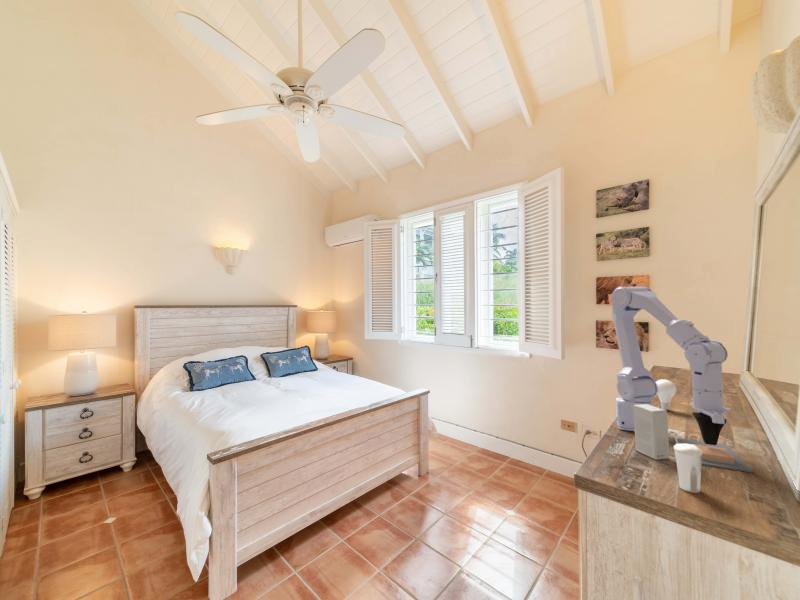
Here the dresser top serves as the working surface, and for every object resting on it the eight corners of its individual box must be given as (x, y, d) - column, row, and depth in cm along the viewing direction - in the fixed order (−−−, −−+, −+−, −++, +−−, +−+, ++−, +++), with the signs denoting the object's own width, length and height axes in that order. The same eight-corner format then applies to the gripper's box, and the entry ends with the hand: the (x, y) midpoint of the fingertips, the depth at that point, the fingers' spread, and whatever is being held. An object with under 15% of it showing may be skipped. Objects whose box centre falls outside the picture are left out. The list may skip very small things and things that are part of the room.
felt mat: (690, 463, 80) (690, 461, 80) (674, 439, 94) (674, 437, 94) (753, 472, 75) (753, 471, 75) (726, 446, 89) (726, 444, 89)
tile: (693, 450, 86) (701, 459, 81) (693, 444, 86) (700, 453, 81) (725, 454, 83) (734, 464, 78) (724, 448, 83) (734, 457, 78)
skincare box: (670, 458, 82) (668, 410, 83) (655, 460, 82) (653, 411, 82) (648, 448, 88) (646, 403, 89) (634, 450, 88) (632, 404, 88)
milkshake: (686, 480, 72) (684, 434, 72) (710, 494, 67) (708, 444, 67) (666, 481, 72) (664, 435, 72) (688, 495, 67) (686, 445, 67)
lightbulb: (650, 408, 121) (648, 378, 122) (662, 406, 123) (661, 377, 124) (668, 413, 115) (667, 382, 116) (681, 411, 117) (680, 380, 118)
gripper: (741, 398, 76) (744, 458, 75) (718, 384, 88) (720, 436, 88) (700, 395, 79) (703, 452, 79) (684, 382, 92) (686, 431, 91)
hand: (710, 443), depth 83 cm, fingers closed
